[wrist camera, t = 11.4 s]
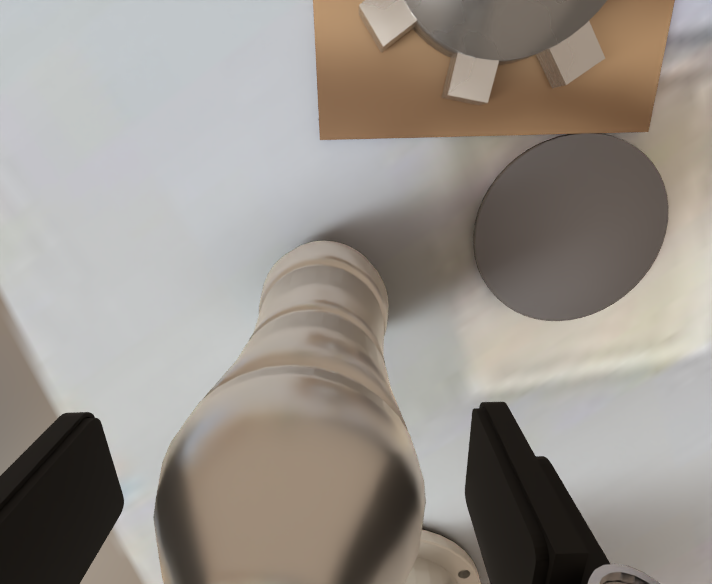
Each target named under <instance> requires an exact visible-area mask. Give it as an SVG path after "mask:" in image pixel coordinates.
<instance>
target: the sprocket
mask: <svg viewBox="0 0 712 584" xmlns="http://www.w3.org/2000/svg"><path fill="white" fill-rule="evenodd" d="M606 1H607V0H365V1H363V2H362V3H361V4H360V5H359V16H360V18H361V19H362V21H363V23H364V24H365V26H366V28H367V29H368V31H369V33H370V35H371V36H372V38H373V40H374V41H375V43H376V45H377V46H378V48H379V50H380V51H381V53H382V52H383V51H384V50H386V49H387V48H388V47H389V46H391V45H392V44H393V43H395V42H396V41H397V40H399V39H400V38H401V37H402V36H404V35H405V34H406V33H408V32H409V31H410V30H411V29H414V31H415V32H416V33H417V34H418V35H419V36H420V37H421V38H422V39H423V40H424V41H425V42H426V43H428V44H429V45H430V46H431V47H433V48H434V49H436V50H437V51H439V52H440V53H442V54H444V55H446V56H448V57H450V58H451V59H450V63H449V68H448V72H447V77H446V81H445V85H444V90H443V94H442V98H446V99H451V100H456V101H460V102H465V103H470V104H475V105H482V104H486V103H488V101H489V97H490V93H491V89H492V85H493V82H494V78H495V74H496V70H497V67H498V65H504V64H510V63H514V62H517V61H521V60H524V59H527V58H529V57H531V56H533V55H536V56H537V58H538V60H539V62H540V64H541V67H542V69H543V71H544V73H545V75H546V77H547V79H548V81H549V83H550V85H551V87H552V88H556V87H560V86H564V85H567V84H569V83H570V82H571V81H573V80H574V79H576V78H577V77H579V76H580V75H582V74H583V73H585V72H586V71H588V70H589V69H590V68H592V67H593V66H595V65H596V64H598V63H599V62H601V61H602V60H604V59H605V56H604V54H603V52H602V49H601V47H600V45H599V42H598V40H597V38H596V35H595V33H594V31H593V28H592V26H591V24H590V21H589V20H590V19H591V18H592V17H593V16H594V15H595V14H596V13H597V12H598V11H599V10H600V9H601V7H602V6H603V5H604V4H605V2H606Z"/></svg>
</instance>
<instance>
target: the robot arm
mask: <svg viewBox="0 0 712 584" xmlns="http://www.w3.org/2000/svg"><path fill="white" fill-rule="evenodd" d="M465 498H466V503H467V507H468V511H469V514H470V517H471V520H472V524H473V527H474V530H475V534H476V537H477V540H478V544H479V547H480V550H481V554H482V557H483V560H484V564H485V567H486V570H487V573H488V577H489V580H490V583H491V584H660V583H659V582H658V581H656V580H655V579H653V578H651V577H650V576H648V575H647V574H645V573H644V572H641V571H639V570H637V569H634V568H632V567H629V566H625V565H619V564H610V563H609V561H608V559H607V558H606V556H605V554H604V552H603V551H602V549H601V547H600V546H599V544H598V542H597V541H596V539H595V537H594V535H593V534H592V532H591V530H590V529H589V527H588V525H587V524H586V522H585V520H584V518H583V517H582V515H581V513H580V512H579V510H578V508H577V507H576V505H575V503H574V501H573V500H572V498H571V496H570V495H569V493H568V491H567V489H566V488H565V486H564V484H563V483H562V481H561V479H560V478H559V476H558V474H557V472H556V471H555V469H554V467H553V466H552V464H551V463H550V461H549V460H548V459H547V458H546V457H544V456H539V457H536V456H535V455H534V453H533V451H532V449H531V447H530V446H529V444H528V442H527V440H526V438H525V437H524V435H523V433H522V431H521V429H520V427H519V426H518V424H517V422H516V420H515V418H514V417H513V415H512V413H511V411H510V409H509V408H508V406H507V404H506V403H505V402H482V403H481V404H480V408H476V409H473V412H472V421H471V432H470V442H469V453H468V463H467V474H466V484H465ZM123 505H124V497H123V494H122V490H121V487H120V484H119V480H118V477H117V474H116V471H115V467H114V464H113V461H112V457H111V454H110V451H109V447H108V444H107V441H106V437H105V434H104V431H103V427H102V424H101V422H100V420H99V419H98V418H95V417H94V415H93V414H92V413H89V412H80V413H64V414H62V415H61V416H60V417H59V418H58V419H57V420H56V421H55V422H54V423H53V424H52V425H51V426H50V427H49V428H48V429H47V430H46V431H45V432H44V433H43V434H42V435H41V436H40V437H39V438H38V439H37V440H36V441H35V442H34V443H33V444H32V445H31V446H30V447H29V448H28V449H27V450H26V451H25V452H24V453H23V454H22V455H21V456H20V457H19V458H18V459H17V460H16V461H15V462H14V463H13V464H12V465H11V466H10V467H9V468H8V469H7V470H6V471H5V472H4V473H3V474H2V475H1V476H0V584H80V582H81V580H82V579H83V577H84V575H85V574H86V572H87V570H88V568H89V567H90V565H91V563H92V561H93V560H94V558H95V557H96V555H97V553H98V552H99V550H100V548H101V546H102V545H103V543H104V541H105V540H106V538H107V536H108V535H109V533H110V531H111V530H112V528H113V526H114V525H115V523H116V521H117V519H118V518H119V516H120V514H121V512H122V509H123ZM404 584H481V582H480V578H479V574H478V571H477V569H476V567H475V564H474V562H473V560H472V559H471V558H470V557H469V555H468V554H467V553H466V552H465V551H464V550H463V549H462V548H461V547H459V546H458V545H457V544H456V543H454V542H453V541H451V540H449V539H447V538H445V537H443V536H441V535H438V534H435V533H432V532H429V531H426V530H422V532H421V539H420V545H419V551H418V555H417V558H416V560H415V562H414V564H413V567H412V569H411V571H410V573H409V575H408V577H407V579H406V581H405V583H404Z"/></svg>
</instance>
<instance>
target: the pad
mask: <svg viewBox="0 0 712 584" xmlns="http://www.w3.org/2000/svg"><path fill="white" fill-rule="evenodd" d="M667 222H668V200H667V194H666V190H665V186H664V183H663V181H662V178H661V176H660V174H659V172H658V170H657V169H656V167H655V166H654V164H653V163H652V162H651V160H650V159H649V158H648V157H647V156H646V155H645V154H644V153H643V152H641V151H640V150H639V149H638V148H636V147H635V146H633V145H631V144H630V143H628V142H626V141H624V140H621V139H618V138H616V137H613V136H608V135H603V134H590V133H580V134H570V135H564V136H560V137H556V138H553V139H550V140H547V141H545V142H542V143H540V144H538V145H536V146H534V147H532V148H530V149H529V150H527V151H526V152H524V153H523V154H521V155H520V156H518V157H517V158H516V159H515V160H514V161H512V162H511V163H510V164H509V165H508V166H507V167H506V168H505V169H504V170H503V171H502V172H501V173H500V174H499V175H498V177H497V178H496V179H495V181H494V182H493V184H492V185H491V186H490V188H489V190H488V192H487V193H486V195H485V197H484V199H483V201H482V204H481V206H480V209H479V211H478V215H477V219H476V222H475V229H474V253H475V259H476V263H477V266H478V269H479V272H480V274H481V276H482V278H483V280H484V282H485V283H486V285H487V286H488V288H489V289H490V290H491V291H492V292H493V294H494V295H495V296H496V297H497V298H498V299H499V300H500V301H501V302H503V303H504V304H505V305H506V306H508V307H509V308H511V309H512V310H514V311H516V312H518V313H520V314H522V315H524V316H528V317H531V318H534V319H540V320H546V321H564V320H572V319H577V318H582V317H585V316H588V315H591V314H594V313H596V312H598V311H601V310H603V309H605V308H607V307H608V306H610V305H612V304H614V303H615V302H617V301H618V300H619V299H621V298H622V297H624V296H625V295H626V294H627V293H628V292H629V291H631V290H632V289H633V288H634V287H635V286H636V285H637V284H638V283H639V281H640V280H641V279H642V278H643V277H644V276H645V274H646V273H647V272H648V270H649V269H650V267H651V266H652V264H653V262H654V261H655V259H656V257H657V255H658V253H659V251H660V248H661V246H662V243H663V240H664V237H665V233H666V228H667Z"/></svg>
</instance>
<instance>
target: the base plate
mask: <svg viewBox="0 0 712 584" xmlns="http://www.w3.org/2000/svg"><path fill="white" fill-rule="evenodd" d="M363 1H365V0H313V8H314V28H315V49H316V69H317V89H318V109H319V129H320V140H337V139H377V138H418V137H458V136H499V135H539V134H580V133H620V132H648V131H649V126H650V121H651V116H652V111H653V106H654V101H655V96H656V91H657V86H658V81H659V76H660V71H661V66H662V61H663V56H664V51H665V46H666V41H667V36H668V31H669V26H670V21H671V16H672V11H673V6H674V1H675V0H607V1H606V2H605V4H604V5H603V6H602V7H601V9H600V10H599V11H598V12H597V13H596V14H595V15H594V16H593V17H592V18H591V19H590V20H589V21H590V24H591V26H592V28H593V31H594V33H595V35H596V38H597V40H598V42H599V45H600V47H601V49H602V52H603V54H604V56H605V59H604V60H602V61H601V62H599V63H598V64H596V65H595V66H593V67H592V68H590V69H589V70H588V71H586V72H585V73H583V74H582V75H580V76H579V77H577V78H576V79H574V80H573V81H571V82H570V83H569V84H567V85H564V86H560V87H556V88H552V87H551V85H550V83H549V81H548V79H547V77H546V75H545V73H544V71H543V69H542V67H541V64H540V62H539V60H538V58H537V56H536V55H533V56H531V57H529V58H527V59H524V60H521V61H517V62H514V63H510V64H504V65H498V67H497V70H496V74H495V78H494V82H493V85H492V89H491V93H490V97H489V101H488V103H486V104H482V105H475V104H470V103H465V102H460V101H456V100H451V99H446V98H442V94H443V90H444V85H445V81H446V77H447V72H448V68H449V63H450V59H451V58H450V57H448V56H446V55H444V54H442V53H440V52H439V51H437V50H436V49H434V48H433V47H431V46H430V45H429V44H428V43H426V42H425V41H424V40H423V39H422V38H421V37H420V36H419V35H418V34H417V33H416V32H415V31H414V29H411V30H410V31H409V32H408V33H406V34H405V35H404V36H402V37H401V38H400V39H399V40H397V41H396V42H395V43H393V44H392V45H391V46H389V47H388V48H387V49H386V50H384V51H383V52H382V53H381V51H380V50H379V48H378V46H377V45H376V43H375V41H374V40H373V38H372V36H371V35H370V33H369V31H368V29H367V28H366V26H365V24H364V23H363V21H362V19H361V18H360V16H359V5H360V4H361V3H362V2H363Z"/></svg>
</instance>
